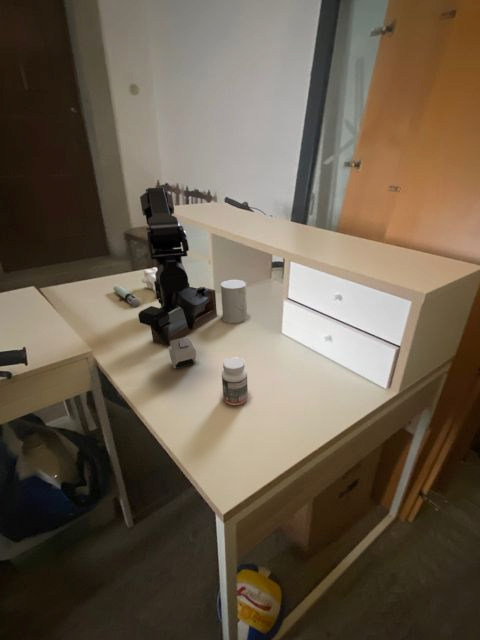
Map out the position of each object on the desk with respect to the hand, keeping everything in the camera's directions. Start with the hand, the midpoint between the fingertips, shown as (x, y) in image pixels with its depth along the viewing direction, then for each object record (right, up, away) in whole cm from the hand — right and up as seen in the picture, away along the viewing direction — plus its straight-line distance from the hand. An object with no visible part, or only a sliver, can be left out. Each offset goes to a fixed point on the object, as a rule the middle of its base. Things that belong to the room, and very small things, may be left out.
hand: (179, 336), depth 90 cm
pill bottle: (+15, -15, -8) cm, 22 cm away
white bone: (-19, +19, +49) cm, 57 cm away
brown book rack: (-3, +4, +22) cm, 23 cm away
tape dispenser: (0, -8, +4) cm, 9 cm away
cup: (+12, +7, +29) cm, 32 cm away
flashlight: (-31, +16, +43) cm, 55 cm away
